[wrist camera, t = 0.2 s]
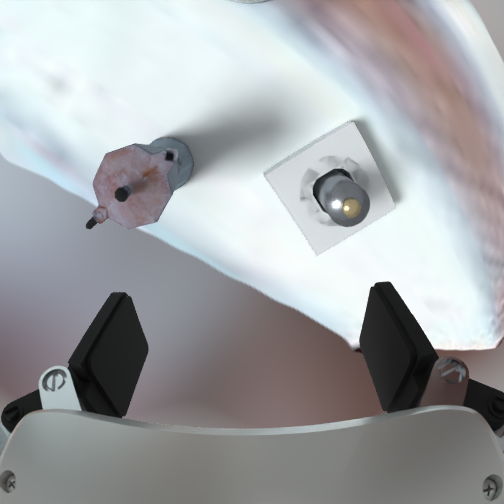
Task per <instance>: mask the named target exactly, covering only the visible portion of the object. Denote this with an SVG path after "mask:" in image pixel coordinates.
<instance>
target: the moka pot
mask: <svg viewBox="0 0 504 504" xmlns="http://www.w3.org/2000/svg"><path fill="white" fill-rule="evenodd" d="M192 168H193V158H192V155H191V153H190V151H189V148H188V147H187V146H186V145H185V144H184V143H182V142H181V141H179V140H177V139H175V138H159V139H156V140H154V141H153V142H152V143H151V144H150V145H144V144H132V145H129V146H126V147H123V148H120V149H117V150H115V151H112V152H109V153H106V154H105V156H104V158H103V160H102V162H101V164H100V167H99V169H98V171H97V173H96V176H95V178H94V180H93V188H94V191H95V194H96V197H97V200H98V204H99V205H98V207H97V209H96V210H94V212H93V213H92V214H93V217H92V218H91V219H90V220H89V221H88V222H87V224H86V228H87V229H91V228H92V227H93V226H94V225H96V224H97V223H99V224H101V223H103V222H104V221H105V220H106V219H107V218H110V219H112V220H114V221H115V222H117V223H118V224H120V225H121V226H123V227H125V228H127V229H130V228H135V227H139V226H143V225H147V224H151V223H155V222H157V221H158V219H159V217H160V216H161V214H162V212H163V210H164V208H165V207H166V205H167V203H168V201H169V200H170V198H171V196H172V195H173V192H174V191H175V190H176V189H178V188H179V187H180V186H182V185H183V184H184V183H185V182H186V181H188V180H189V178H190V175H191V172H192Z"/></svg>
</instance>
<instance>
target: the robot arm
mask: <svg viewBox="0 0 504 504" xmlns="http://www.w3.org/2000/svg"><path fill="white" fill-rule="evenodd" d="M232 1H235V2H240V3H258V2H263V1H267V0H232ZM359 342H360V347H361V350H362V353H363V355H364V358H365V361H366V363H367V366H368V369H369V372H370V374H371V377H372V380H373V383H374V386H375V388H376V392H377V395H378V397H379V400H380V403H381V406H382V409H383V411H387V413H388V414H383V415H378V416H373V417H367V418H361V419H355V420H349V421H343V422H335V423H328V424H320V425H310V426H298V427H284V428H263V429H220V428H198V427H184V426H174V425H164V424H156V423H148V422H141V421H135V420H128V419H122V416H125V415H126V413H127V410H128V407H129V405H130V401H131V399H132V396H133V393H134V390H135V387H136V384H137V382H138V379H139V376H140V373H141V370H142V367H143V365H144V362H145V359H146V357H147V354H148V343H147V341H146V338H145V335H144V333H143V330H142V328H141V325H140V322H139V319H138V316H137V313H136V310H135V307H134V304H133V301H132V298H131V297H130V296H128V295H127V294H126V293H125V292H113V293H111V294H110V296H109V297H108V299H107V300H106V302H105V303H104V305H103V306H102V308H101V310H100V311H99V312H98V314H97V316H96V317H95V319H94V320H93V322H92V323H91V325H90V326H89V328H88V330H87V331H86V333H85V335H84V336H83V338H82V339H81V341H80V343H79V345H78V346H77V348H76V349H75V351H74V353H73V354H72V356H71V358H70V359H69V361H68V363H69V367H68V368H65V367H63V366H55V367H51V368H50V369H48V370H46V371H45V372H44V373H43V374H42V376H41V377H40V380H39V389H38V390H36V391H34V392H32V393H30V394H28V395H26V396H23V397H21V398H19V399H17V400H15V401H13V402H11V403H10V404H8V405H7V406H6V407H5V408H4V410H3V412H2V416H1V419H2V420H1V422H0V504H504V393H503V392H502V391H499V390H497V389H494V388H491V387H489V386H487V385H484V384H482V383H479V382H477V381H474V380H472V379H470V378H469V370H468V368H467V366H466V364H465V363H464V362H463V361H461V360H460V359H458V358H456V357H453V356H444V357H441V358H439V357H438V355H437V353H436V352H435V350H434V348H433V346H432V345H431V343H430V341H429V340H428V338H427V336H426V335H425V333H424V332H423V330H422V328H421V327H420V325H419V324H418V322H417V320H416V319H415V317H414V316H413V314H412V313H411V312H410V310H409V309H408V307H407V306H406V304H405V303H404V301H403V300H402V298H401V297H400V295H399V294H398V292H397V291H396V289H395V288H394V286H393V285H392V283H391V282H377V283H375V285H374V287H371V288H370V292H369V297H368V302H367V307H366V312H365V317H364V321H363V326H362V330H361V334H360V339H359Z"/></svg>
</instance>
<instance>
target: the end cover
mask: <svg viewBox="0 0 504 504" xmlns="http://www.w3.org/2000/svg"><path fill="white" fill-rule="evenodd" d="M313 189H314V193H315V196H316V197H317V199H318V200H319V201H320V203H321V204H322V206H323V207H324V209H325V210H326V212H327V213H328V214H329V216H330V217H331V219H332V220H333V221H334V222H335V223H336V224H338V225H340V226H343V227H352V226H355V225H357V224H359V223H361V222H362V221H363V220H364V219H365V218H366V216H367V214H368V212H369V209H370V199H369V196H368V194H367V192H366V191H365V190H364V189H363V188H362V187H360V186H359V185H358V184H356V183H355V182H354V181H352V180H351V179H350V178H348V177H347V176H346V175H344V174H343V173H341V172H340V171H338V170H335V169H332V170H331V171H329V172H328V173H326V174H324V175H323V176H321V177H319V178H318V179H316V181H315V183H314V185H313Z"/></svg>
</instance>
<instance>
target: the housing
mask: <svg viewBox="0 0 504 504" xmlns="http://www.w3.org/2000/svg"><path fill="white" fill-rule="evenodd" d="M336 168H342V169H344V170H345V172H346V174H347V176H348V178H350V179H351V180H352V181H354V182H355V183H356V184H358V185H359V186H360V187H362V188H363V189H364V190H365V191H366V192H367V194H368V196H369V199H370V209H369V212H368V214H367V216H366V218H365V219H364V220H363V221H362V222H361V223H359V224H357V225H355V226H352V227H343V226H340V225H338V224H336V223H335V222H334V221H333V220H332V219H331V217H330V216H329V214H328V213H327V212H326V210H325V209H324V208H323V207H321V206H319V204H318V203H317V201H316V199H315V198H314V196H313V185H314V183H315V181H316V179H318V178H319V177H321V176H323V175H324V174H326V173H328V172H329V171H331V170H332V169H336ZM263 174H264V177H265V179H266V180H267V182H268V183H269V184H270V186H271V187H272V189H273V190H274V192H275V193H276V195H277V196H278V198H279V199H280V201H281V202H282V204H283V205H284V206H285V208H286V209H287V211H288V212H289V214H290V215H291V217H292V218H293V220H294V222H295V223H296V225H297V226H298V228H299V229H300V231H301V232H302V234H303V235H304V237H305V238H306V240H307V241H308V243H309V245H310V246H311V248H312V249H313V251H314V252H315V254H316V256H318V255H319V254H321V253H323V252H325V251H326V250H328V249H330V248H331V247H333V246H335V245H336V244H338V243H340V242H341V241H343V240H345V239H346V238H348V237H350V236H351V235H353V234H355V233H356V232H358V231H360V230H361V229H363V228H365V227H366V226H368V225H370V224H371V223H373V222H374V221H376V220H378V219H379V218H381V217H383V216H384V215H386V214H387V213H389V212H391V211H392V210H394V209H395V208H396V206H395V204H394V202H393V199H392V197H391V195H390V192H389V190H388V188H387V186H386V184H385V181H384V179H383V177H382V175H381V173H380V171H379V169H378V167H377V165H376V163H375V161H374V159H373V157H372V155H371V153H370V151H369V149H368V147H367V145H366V143H365V141H364V139H363V138H362V136H361V134H360V132H359V130H358V129H357V127H356V125H355V123H354V122H350V121H347V122H345V123H344V124H342V125H340V126H338V127H337V128H335V129H333V130H332V131H330V132H328V133H326V134H325V135H323V136H321V137H320V138H318V139H316V140H315V141H313V142H311V143H310V144H308V145H306V146H305V147H303V148H301V149H300V150H298V151H296V152H295V153H293V154H292V155H290V156H288V157H287V158H285V159H284V160H282V161H280V162H279V163H277V164H276V165H274V166H273V167H271V168H269V169H268V170H266V171H265V172H263Z"/></svg>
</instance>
